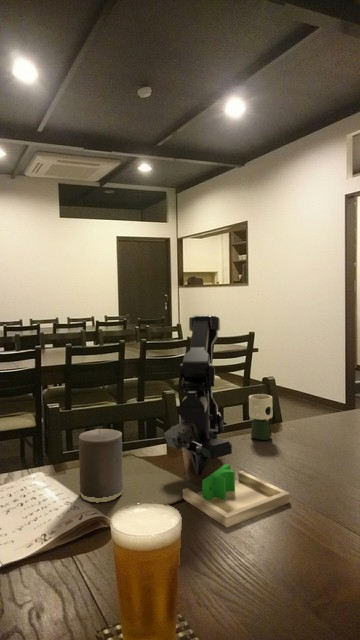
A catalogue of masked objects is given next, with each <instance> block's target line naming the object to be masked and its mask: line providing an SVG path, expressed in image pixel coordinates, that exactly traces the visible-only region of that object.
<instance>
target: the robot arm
mask: <svg viewBox="0 0 360 640" xmlns="http://www.w3.org/2000/svg"><path fill="white" fill-rule="evenodd" d="M188 320H189V321H188V322H189V324H188V326H189V328H188V329H189V331H190V332H192V334H191V340H190V347H189V350H188V352H186V353H184V355H183V359H182V363H180V365H179V375H178V385H177V391H178V392H179V391H180V392H184V397H183V399H182V401H181V402H180V404H179V407H178V414H179V416H180V419H181V421H180V423H178V424H175V425H173V426H170V428H169V429H167V430H166V431H165V432H164V434H163V436H164V438H165V440H166V443H167V445H168V446H169V447H171V448H173V449H174V450H181V449H184V450H185V451H186V452H187V453H188V454H189V457H190V459H191V463H192V465H193V467H194V471H195V474H196V475H197V476H202V475H203V473H204V471H205V468H206V466H207V464H208V463H209V459H210V460H211V459H212V460H213V459H218V458H221V457H224V456H225V457H226V456H229V455H231V454H233V444H232V443H231V442H230V441H228V440H226V439H224V438H221V437H218V435H221V434H222V433H224V420H223V416H222V414H221V412H220V411H219V407H218V404H217V402H216V401H215V400H214V398H213V387H215V380H216V379H215V377H216V376H215V375H216V369H215V367H214V365H213V345H215V342H216V341H217V339H218V338H219V337H218V336H219V333H218V331H219V332H220V330H221V320H220V318H219V317H218V316H216V315H215V314H195V315H192V316H191V317H189V318H188ZM183 382H184V383H183Z"/></svg>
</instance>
